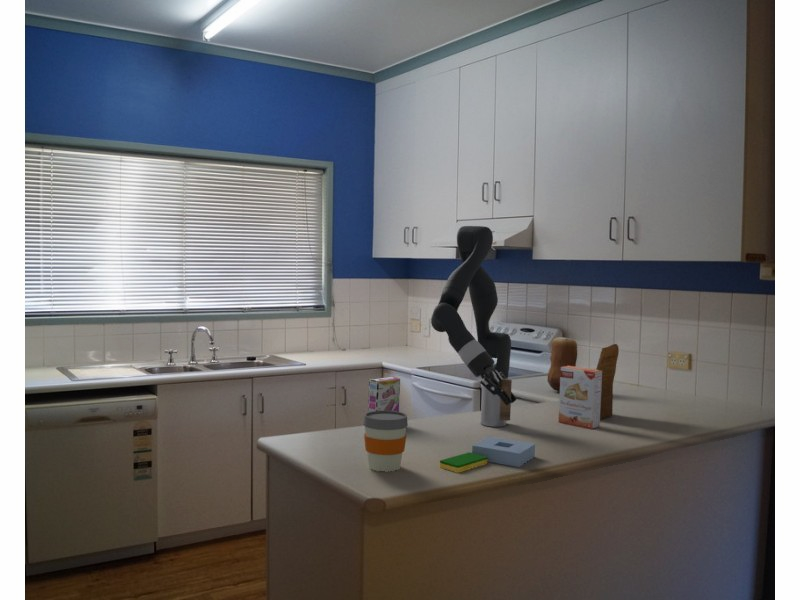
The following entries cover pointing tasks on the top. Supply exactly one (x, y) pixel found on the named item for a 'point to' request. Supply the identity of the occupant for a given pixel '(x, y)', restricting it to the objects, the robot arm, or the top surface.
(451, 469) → the dish sponge
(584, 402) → the cracker box
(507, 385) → the walnut peg
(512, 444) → the hole block
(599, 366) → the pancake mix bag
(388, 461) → the reusable coffee cup
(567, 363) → the butternut squash
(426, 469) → the top surface
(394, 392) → the candy bar box
